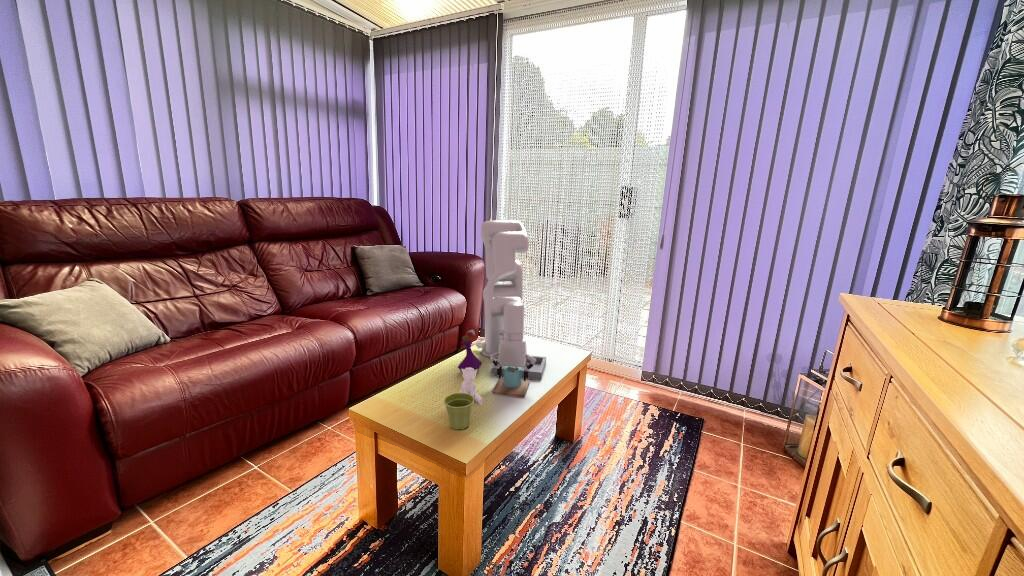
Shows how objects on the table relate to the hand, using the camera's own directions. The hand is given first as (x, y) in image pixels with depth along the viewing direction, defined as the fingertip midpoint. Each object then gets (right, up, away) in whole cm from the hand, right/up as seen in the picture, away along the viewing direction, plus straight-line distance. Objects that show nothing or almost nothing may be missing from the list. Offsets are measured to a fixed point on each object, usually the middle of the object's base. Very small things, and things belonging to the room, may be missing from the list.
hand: (512, 378), depth 156 cm
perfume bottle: (-17, 0, +12) cm, 21 cm away
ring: (0, -2, +1) cm, 2 cm away
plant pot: (-17, -9, -26) cm, 32 cm away
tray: (+3, 0, +16) cm, 16 cm away
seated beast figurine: (-16, -6, -10) cm, 19 cm away
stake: (0, -3, -1) cm, 4 cm away
